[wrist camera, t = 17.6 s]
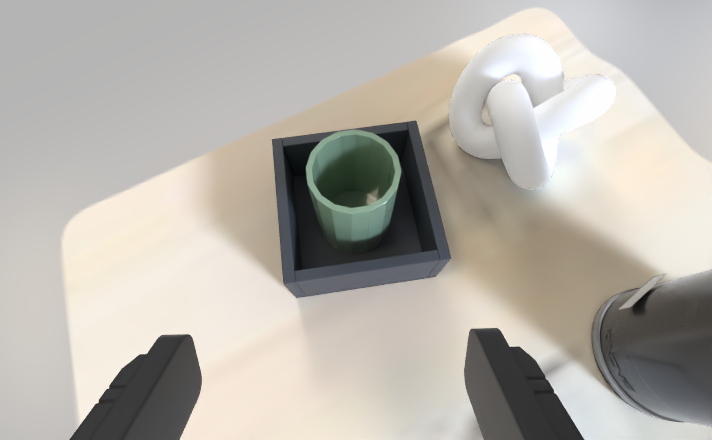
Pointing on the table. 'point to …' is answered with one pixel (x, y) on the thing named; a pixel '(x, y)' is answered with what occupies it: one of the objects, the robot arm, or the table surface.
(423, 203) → the tub
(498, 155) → the white knot sculpture
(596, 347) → the robot arm
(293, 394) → the table surface
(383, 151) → the cup
